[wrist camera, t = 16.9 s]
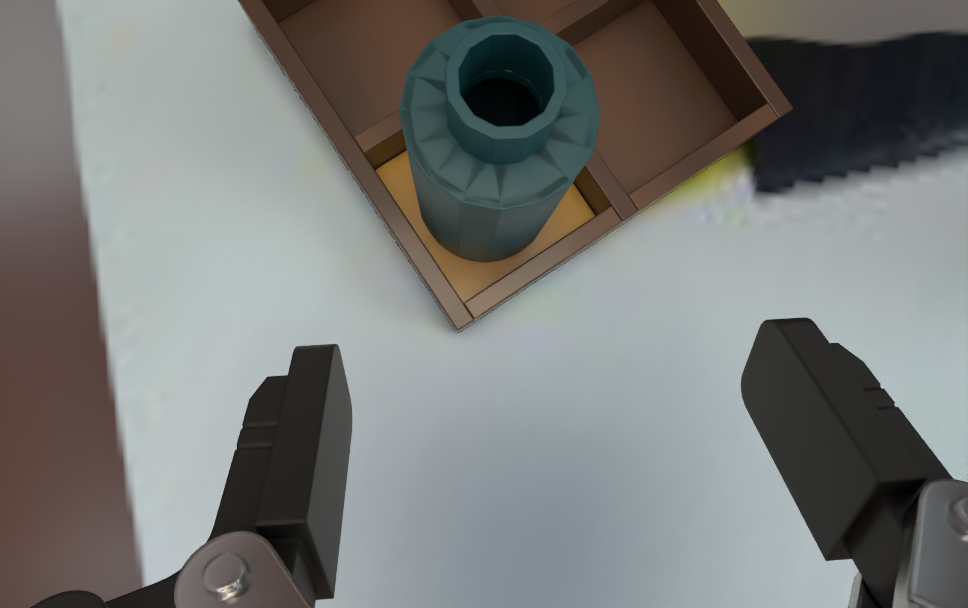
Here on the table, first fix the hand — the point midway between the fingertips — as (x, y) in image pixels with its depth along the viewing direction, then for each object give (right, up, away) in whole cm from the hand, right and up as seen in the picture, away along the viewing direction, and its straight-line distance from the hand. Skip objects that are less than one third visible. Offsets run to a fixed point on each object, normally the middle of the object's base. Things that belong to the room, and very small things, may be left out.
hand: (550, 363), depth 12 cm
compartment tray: (0, +11, +17) cm, 20 cm away
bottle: (-1, +6, +15) cm, 16 cm away
